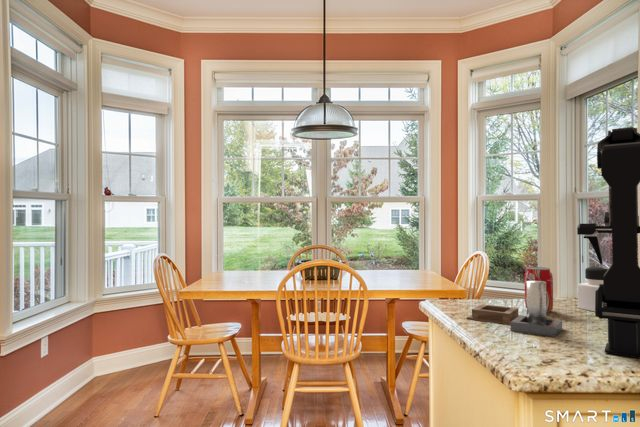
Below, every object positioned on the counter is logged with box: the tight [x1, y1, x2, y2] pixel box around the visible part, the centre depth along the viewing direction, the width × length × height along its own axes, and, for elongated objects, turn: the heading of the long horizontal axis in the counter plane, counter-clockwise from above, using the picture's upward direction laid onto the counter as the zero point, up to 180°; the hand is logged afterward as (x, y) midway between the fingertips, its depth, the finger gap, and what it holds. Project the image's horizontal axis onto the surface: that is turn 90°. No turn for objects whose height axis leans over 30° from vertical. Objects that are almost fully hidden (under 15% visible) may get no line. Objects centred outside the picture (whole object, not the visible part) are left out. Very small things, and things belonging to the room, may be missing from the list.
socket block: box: [510, 314, 563, 338], centre depth 98 cm, size 9×9×2 cm
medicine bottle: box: [577, 266, 609, 313], centre depth 121 cm, size 7×7×12 cm
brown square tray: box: [466, 303, 521, 326], centre depth 110 cm, size 11×11×2 cm
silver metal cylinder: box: [526, 280, 547, 325], centre depth 98 cm, size 4×4×11 cm
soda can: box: [524, 266, 554, 314], centre depth 119 cm, size 7×7×12 cm
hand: (624, 265), depth 103 cm, fingers open, 9 cm apart
